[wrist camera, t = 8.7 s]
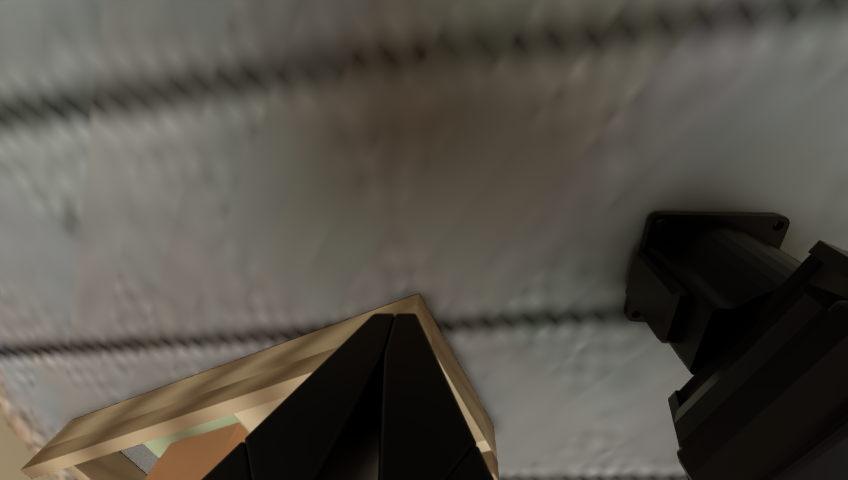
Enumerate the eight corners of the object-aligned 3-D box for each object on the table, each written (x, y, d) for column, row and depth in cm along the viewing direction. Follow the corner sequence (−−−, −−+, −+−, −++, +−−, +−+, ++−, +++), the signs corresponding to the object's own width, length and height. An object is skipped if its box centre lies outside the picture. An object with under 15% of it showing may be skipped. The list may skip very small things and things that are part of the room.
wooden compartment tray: (419, 293, 23) (412, 338, 20) (493, 426, 28) (499, 483, 24) (71, 420, 30) (20, 470, 27) (174, 509, 35) (142, 561, 31)
